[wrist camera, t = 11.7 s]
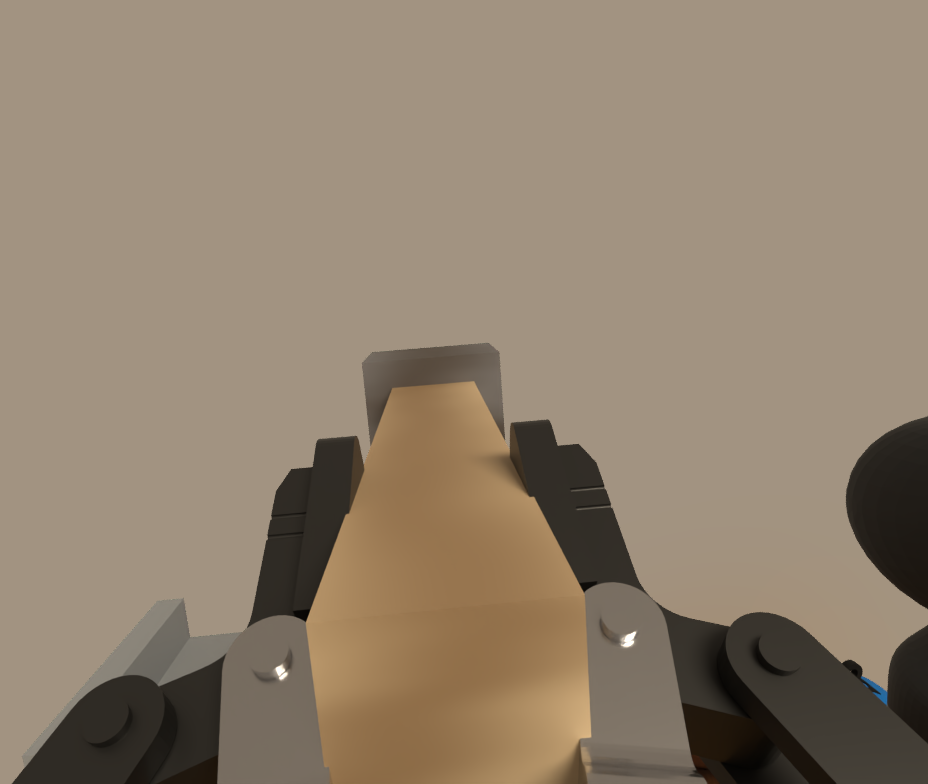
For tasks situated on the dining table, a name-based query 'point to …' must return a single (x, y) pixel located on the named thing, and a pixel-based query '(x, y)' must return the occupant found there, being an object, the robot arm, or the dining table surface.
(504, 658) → the light wooden block
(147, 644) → the grey post
